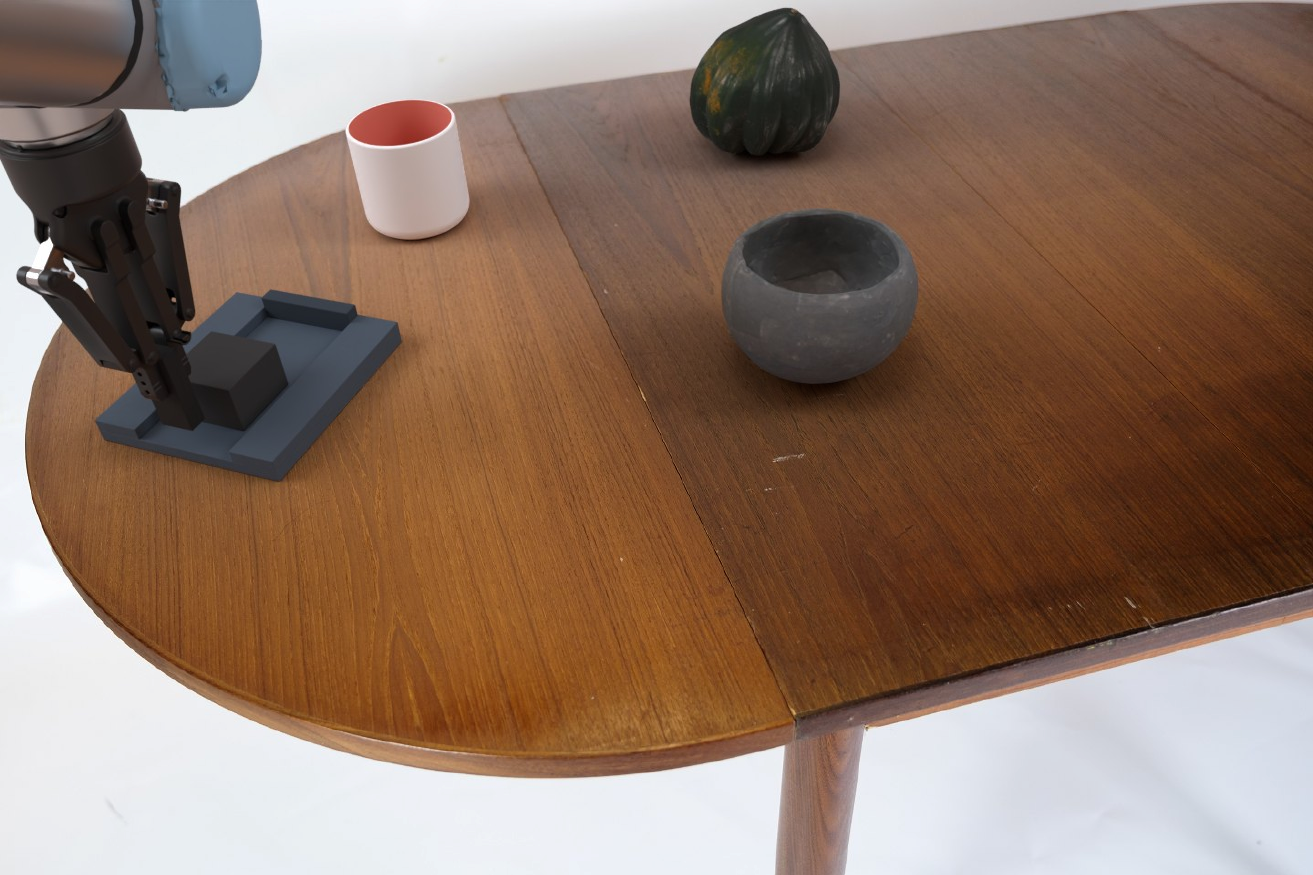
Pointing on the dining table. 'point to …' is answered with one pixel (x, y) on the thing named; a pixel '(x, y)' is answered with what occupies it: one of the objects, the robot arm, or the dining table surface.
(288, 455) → the dock pad
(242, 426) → the black block
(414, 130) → the cup
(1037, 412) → the dining table surface
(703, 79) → the squash
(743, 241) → the bowl
